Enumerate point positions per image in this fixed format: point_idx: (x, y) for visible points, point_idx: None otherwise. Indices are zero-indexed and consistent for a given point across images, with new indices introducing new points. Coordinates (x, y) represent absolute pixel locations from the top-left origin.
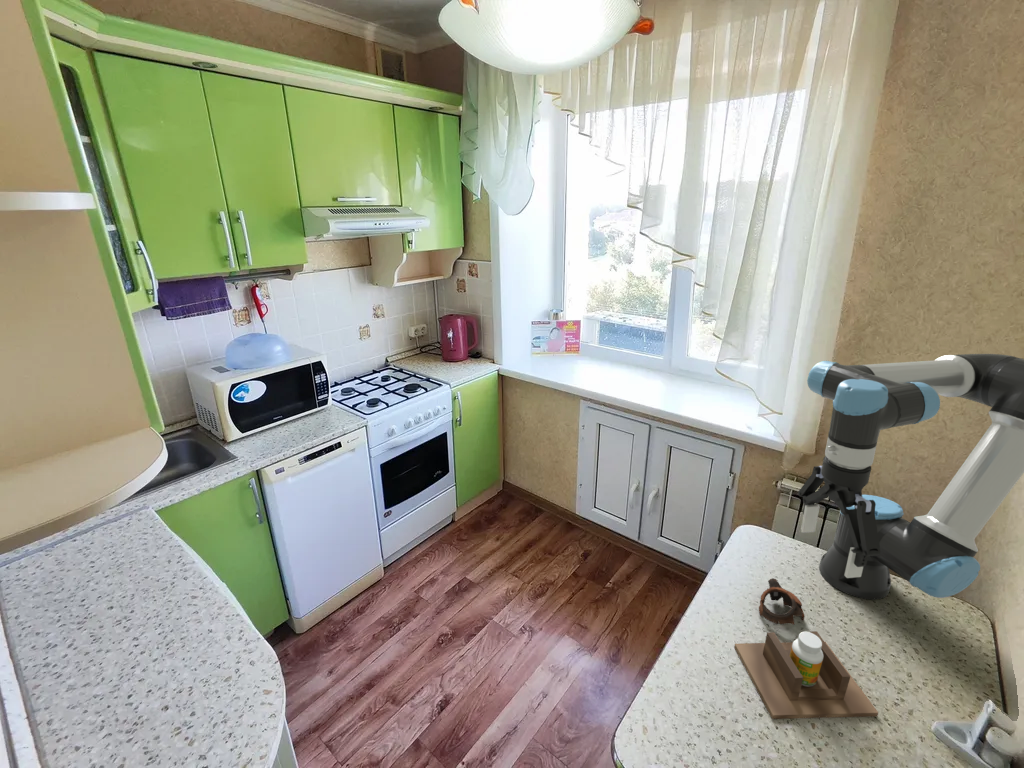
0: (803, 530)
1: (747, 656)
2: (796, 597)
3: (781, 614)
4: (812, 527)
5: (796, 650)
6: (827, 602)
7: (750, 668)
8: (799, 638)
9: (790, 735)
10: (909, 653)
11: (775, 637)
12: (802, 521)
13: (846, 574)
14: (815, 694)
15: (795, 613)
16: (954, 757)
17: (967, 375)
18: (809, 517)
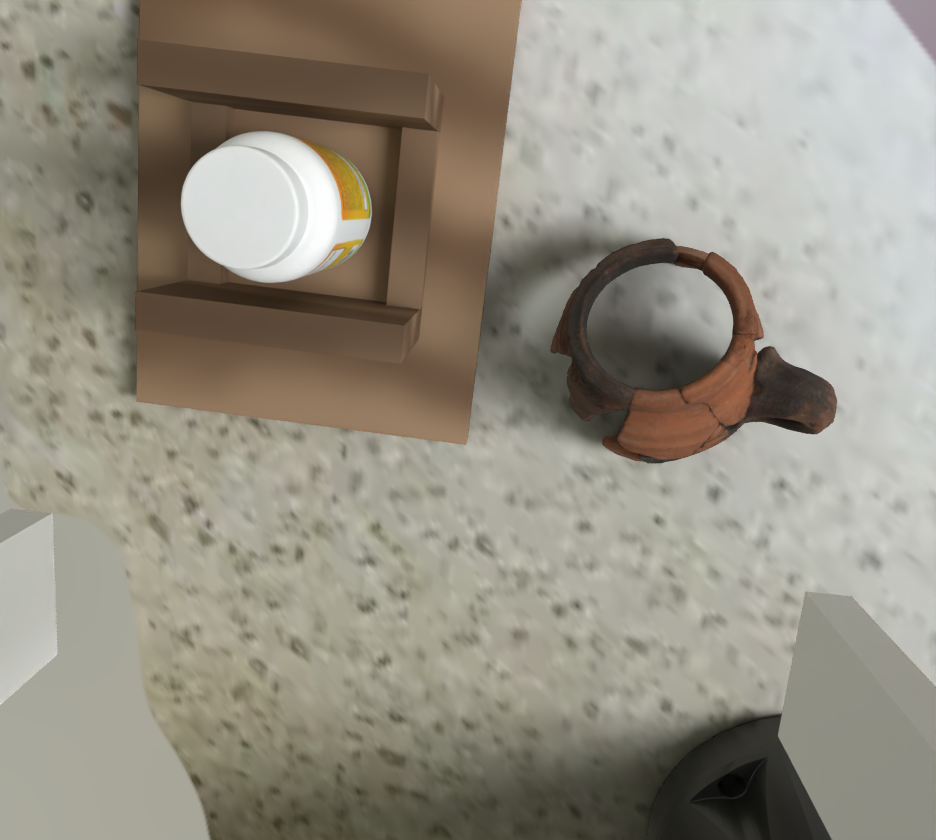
0: (816, 611)
1: (440, 4)
2: (661, 442)
3: (588, 296)
4: (810, 740)
5: (256, 133)
6: (682, 624)
7: None
8: (254, 149)
9: None
10: (383, 725)
11: (389, 102)
12: (917, 672)
13: (2, 520)
14: None
15: (576, 372)
16: None
17: None
18: (901, 795)
